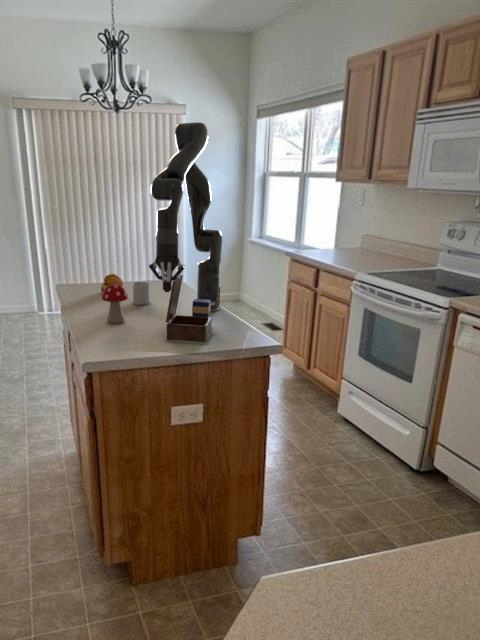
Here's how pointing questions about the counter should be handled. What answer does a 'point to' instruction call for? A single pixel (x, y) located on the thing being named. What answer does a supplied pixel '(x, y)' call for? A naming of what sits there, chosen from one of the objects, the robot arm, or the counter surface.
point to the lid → (174, 298)
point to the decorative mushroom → (114, 302)
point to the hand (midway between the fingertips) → (167, 291)
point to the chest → (189, 328)
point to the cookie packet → (201, 308)
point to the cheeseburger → (111, 281)
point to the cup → (141, 293)
